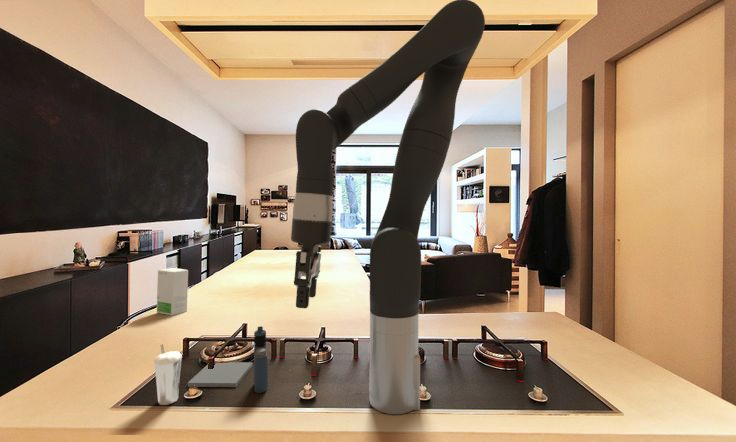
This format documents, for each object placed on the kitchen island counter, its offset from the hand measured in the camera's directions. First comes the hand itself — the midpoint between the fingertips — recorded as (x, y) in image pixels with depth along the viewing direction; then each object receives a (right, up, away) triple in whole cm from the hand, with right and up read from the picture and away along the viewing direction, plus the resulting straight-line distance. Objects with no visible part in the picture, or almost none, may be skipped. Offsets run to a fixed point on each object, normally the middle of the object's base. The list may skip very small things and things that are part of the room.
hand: (306, 301), depth 67 cm
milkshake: (-26, -19, -1) cm, 32 cm away
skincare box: (-59, -18, +58) cm, 85 cm away
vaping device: (-10, -19, +4) cm, 22 cm away
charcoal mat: (-20, -18, +9) cm, 29 cm away
